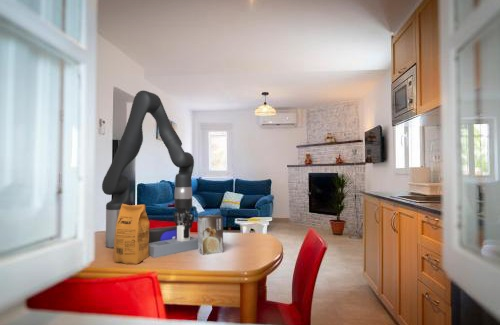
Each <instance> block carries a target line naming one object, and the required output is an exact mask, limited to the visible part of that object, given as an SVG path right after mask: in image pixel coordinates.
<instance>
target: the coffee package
mask: <svg viewBox="0 0 500 325" xmlns="http://www.w3.org/2000/svg"><path fill="white" fill-rule="evenodd" d="M146 208H147V205H146V204H134V205H133V204H132V205H131V204H130V205H129V204H128V205H126V204H122V205H121V209H120V212H119V216H118V219H117V224H116V229H115V239H114V253H113V256H114V257H113V258H114V261H113V262H114V263H122V264H124V265H136V264H137V265H139V263H141V262H142V261H144V260H147V259H148V258H149V257H150V256H149V229H150V220H149V217H148V215H147V214H148V213H147V212H146Z"/></svg>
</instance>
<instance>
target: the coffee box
mask: <svg viewBox="0 0 500 325" xmlns="http://www.w3.org/2000/svg"><path fill="white" fill-rule="evenodd" d="M223 221H224V220H223V215H220V214H207V215H197V239H198V249H197V252H198V253H199V254H201V255H202V256H208V255H215V254H223V253H224V229H223V228H224V226H223V225H224V222H223Z"/></svg>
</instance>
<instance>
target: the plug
mask: <svg viewBox="0 0 500 325" xmlns="http://www.w3.org/2000/svg"><path fill="white" fill-rule="evenodd" d="M190 237H191V228H190V229H189V237H188V238H184V227H183V225H179V226H177V240H178V241H181V242H182V241H187V240H190Z"/></svg>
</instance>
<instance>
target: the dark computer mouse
mask: <svg viewBox="0 0 500 325" xmlns="http://www.w3.org/2000/svg"><path fill="white" fill-rule="evenodd" d="M176 238H177V226H176V225H174V226H173V225H172V226H171V225H170V226H164V227H163V226H162V227H155V228H149V243H152V242H158V241H164V240H170V239H176Z"/></svg>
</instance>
